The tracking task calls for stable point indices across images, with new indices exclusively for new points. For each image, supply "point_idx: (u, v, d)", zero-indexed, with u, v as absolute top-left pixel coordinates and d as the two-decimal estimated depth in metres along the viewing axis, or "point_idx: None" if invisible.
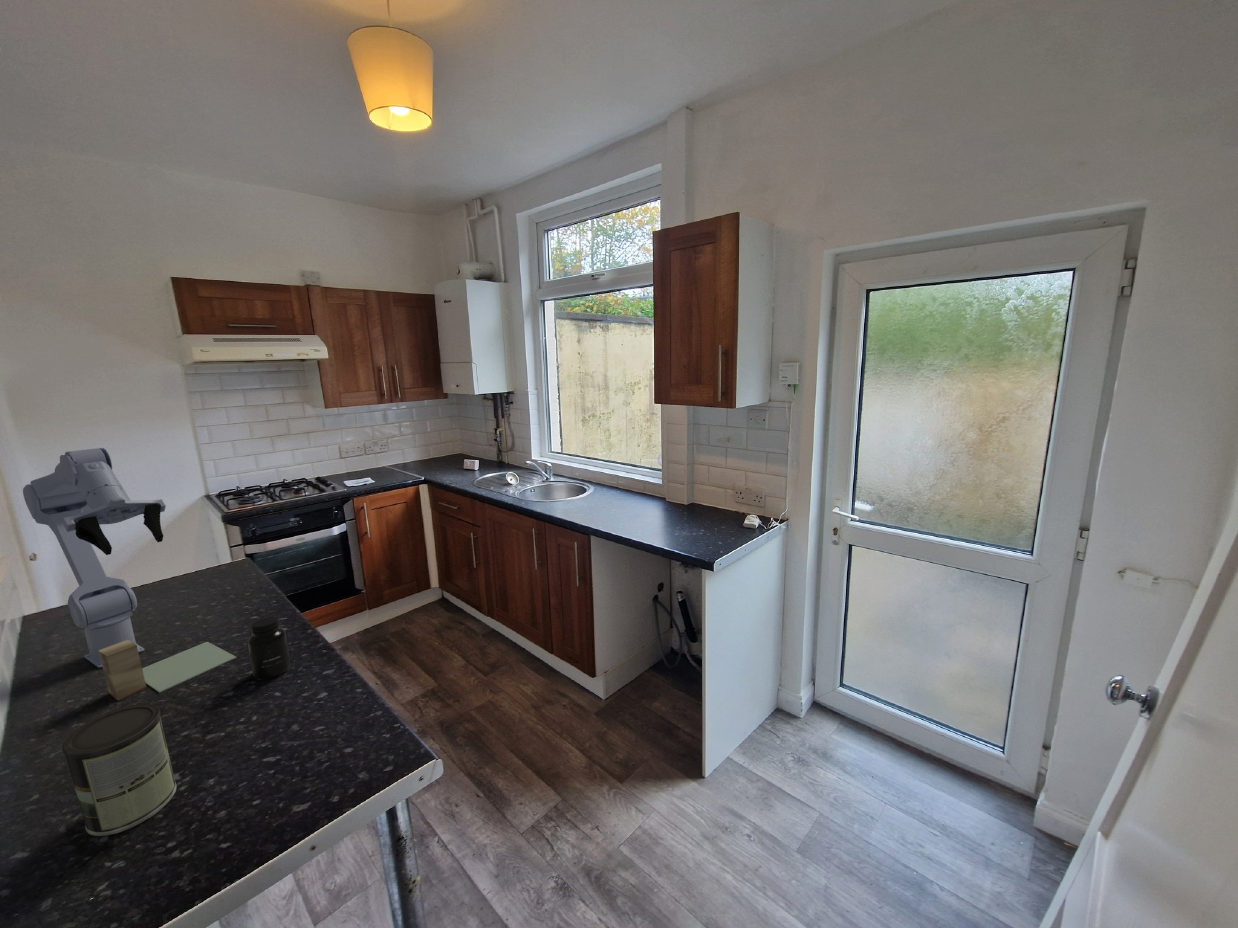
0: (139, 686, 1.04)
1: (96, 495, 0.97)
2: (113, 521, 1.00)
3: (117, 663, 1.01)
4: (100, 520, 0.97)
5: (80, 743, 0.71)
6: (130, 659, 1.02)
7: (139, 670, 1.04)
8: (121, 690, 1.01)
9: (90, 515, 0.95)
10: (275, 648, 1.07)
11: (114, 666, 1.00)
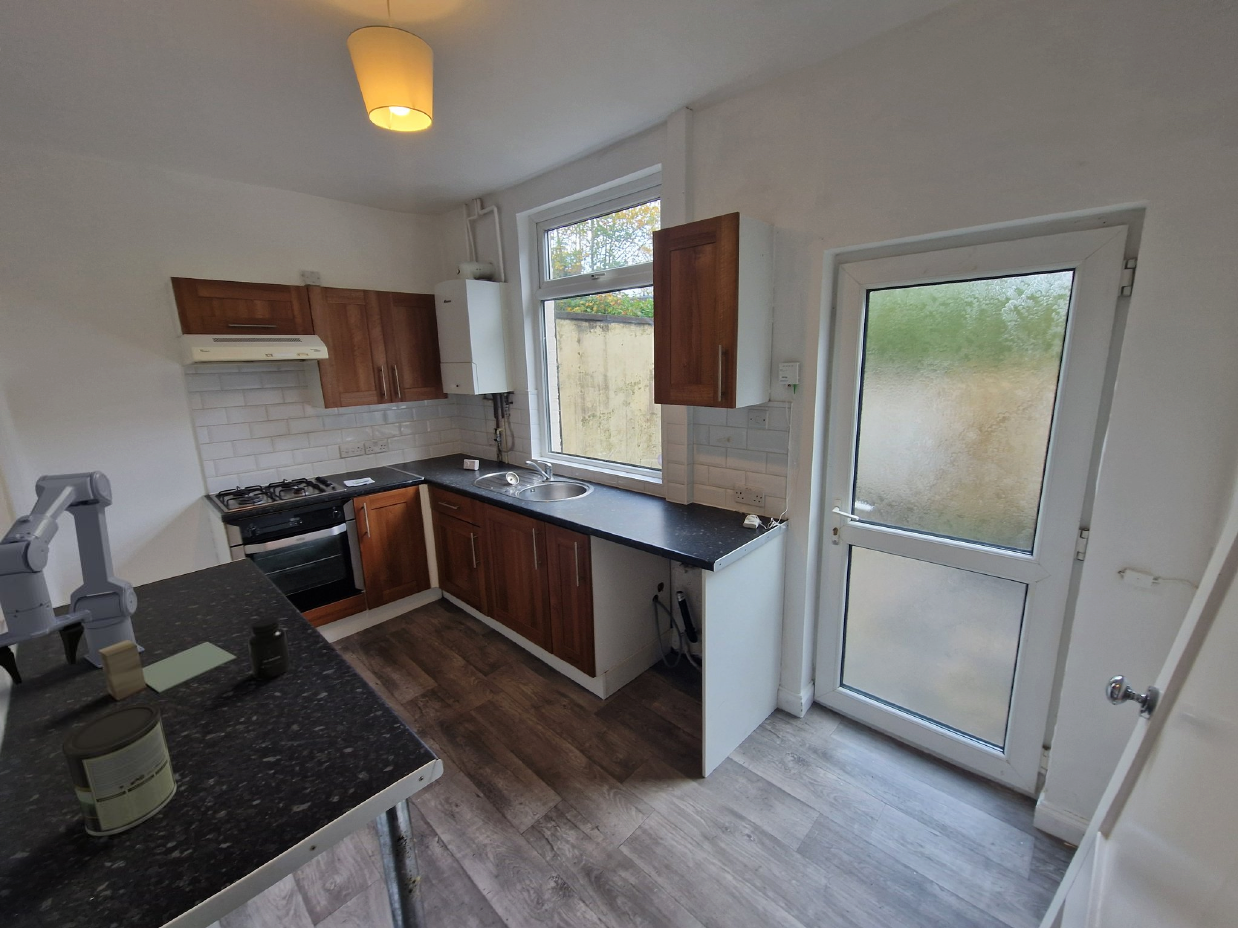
0: (139, 686, 1.04)
1: (17, 620, 0.88)
2: None
3: (117, 663, 1.01)
4: (13, 643, 0.89)
5: (80, 743, 0.71)
6: (130, 659, 1.02)
7: (139, 670, 1.04)
8: (121, 690, 1.01)
9: None
10: (275, 648, 1.07)
11: (114, 666, 1.00)
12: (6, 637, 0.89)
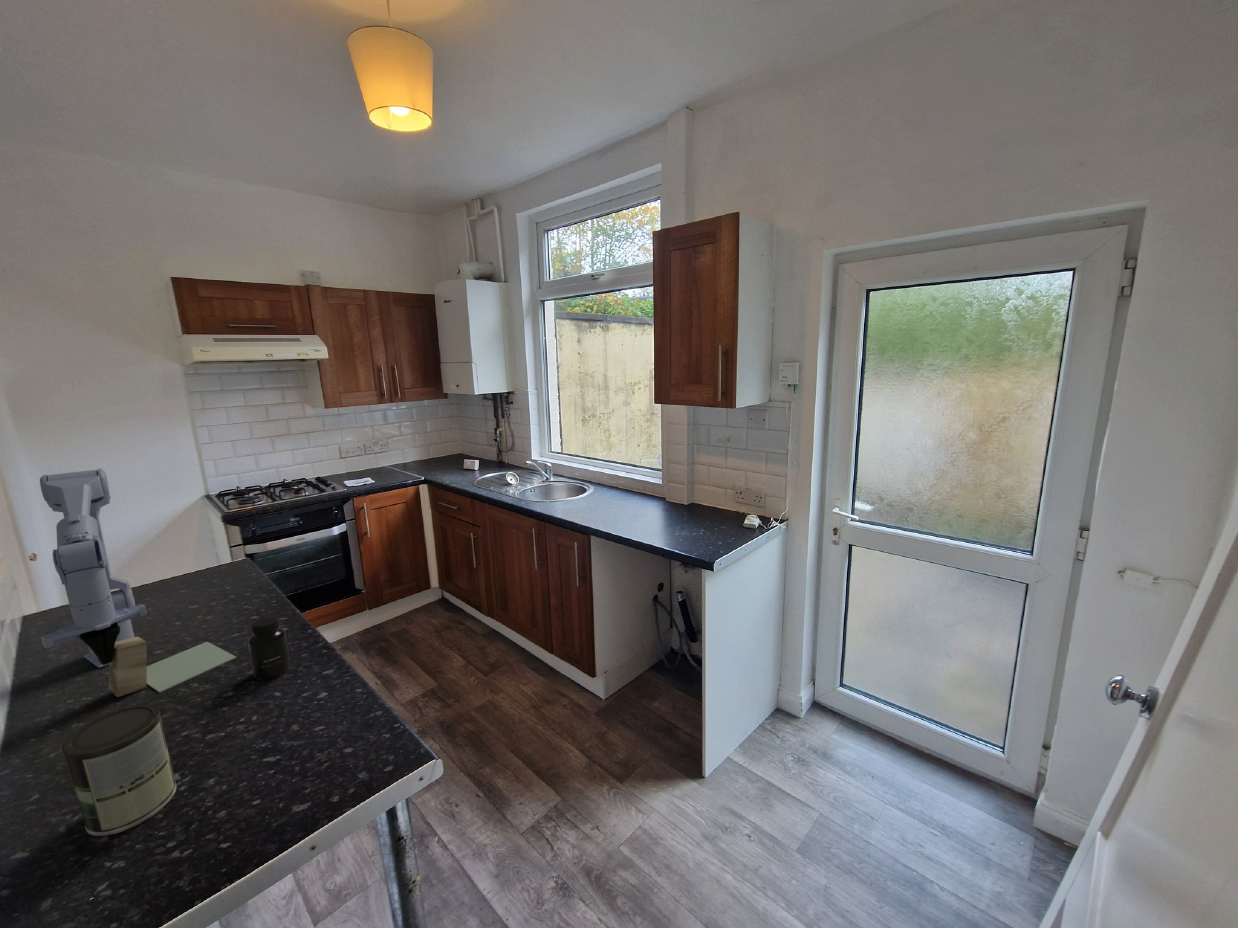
0: (140, 685, 1.04)
1: (83, 613, 0.96)
2: None
3: (125, 658, 1.02)
4: (79, 635, 0.97)
5: (80, 743, 0.71)
6: (138, 655, 1.03)
7: (143, 668, 1.04)
8: (122, 687, 1.02)
9: None
10: (275, 648, 1.07)
11: (121, 660, 1.01)
12: (72, 629, 0.96)
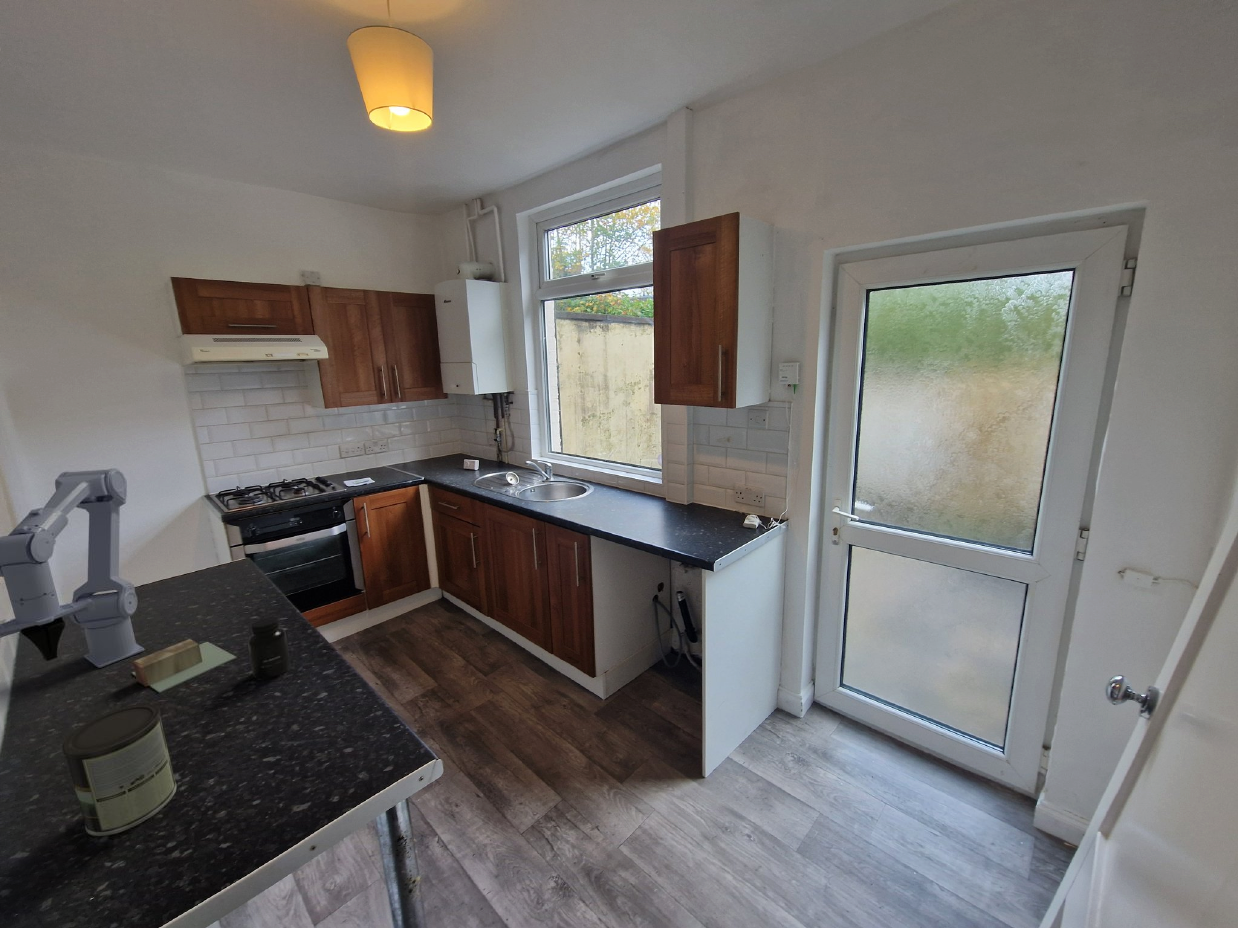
0: (150, 679, 1.05)
1: (24, 607, 0.93)
2: None
3: (187, 653, 1.11)
4: (20, 630, 0.94)
5: (80, 743, 0.71)
6: (187, 662, 1.11)
7: (171, 673, 1.08)
8: (152, 666, 1.06)
9: None
10: (275, 648, 1.07)
11: (185, 652, 1.10)
12: (13, 624, 0.93)
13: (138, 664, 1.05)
